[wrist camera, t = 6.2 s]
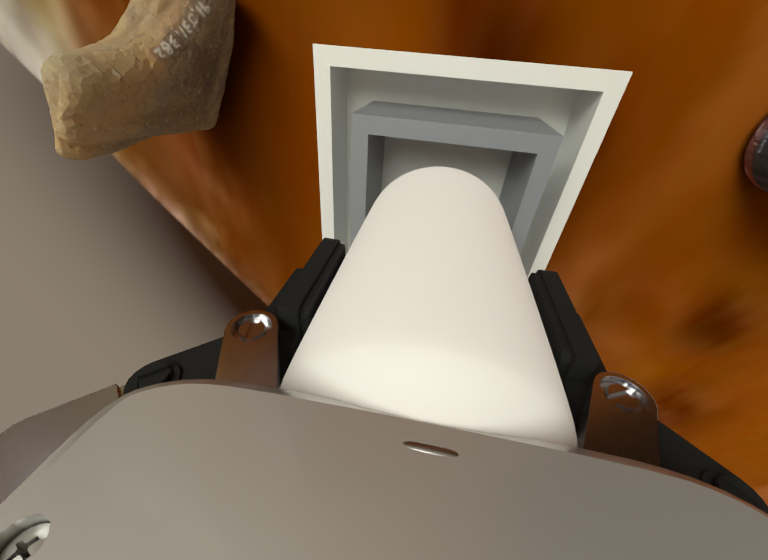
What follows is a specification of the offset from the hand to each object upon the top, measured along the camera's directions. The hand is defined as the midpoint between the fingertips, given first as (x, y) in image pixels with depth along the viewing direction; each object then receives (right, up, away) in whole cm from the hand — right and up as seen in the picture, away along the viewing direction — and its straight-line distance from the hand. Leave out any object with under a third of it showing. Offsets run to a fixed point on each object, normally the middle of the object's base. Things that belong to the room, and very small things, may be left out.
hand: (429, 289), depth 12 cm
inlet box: (+2, +7, +10) cm, 12 cm away
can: (+1, +3, +4) cm, 5 cm away
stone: (-13, +14, +8) cm, 21 cm away
